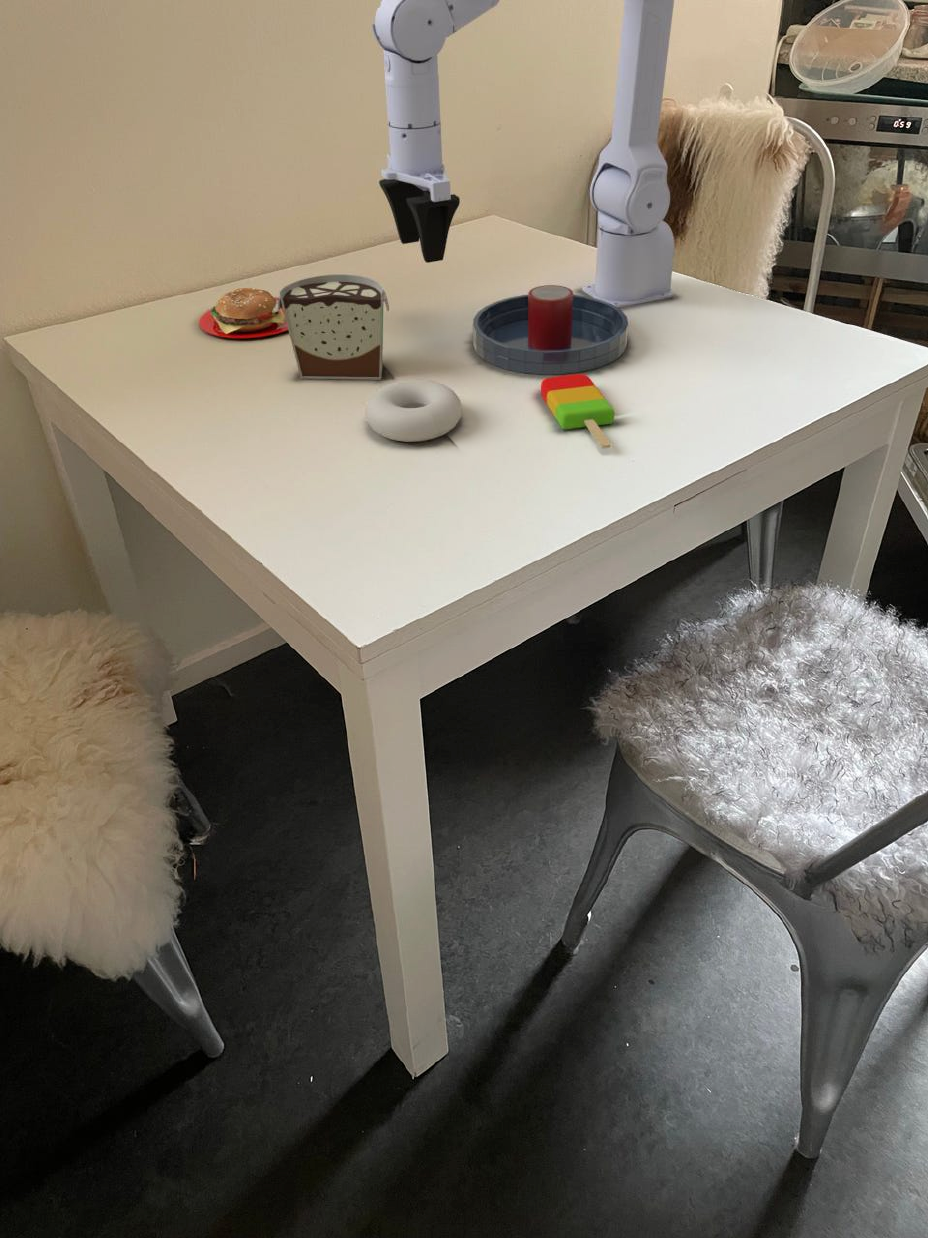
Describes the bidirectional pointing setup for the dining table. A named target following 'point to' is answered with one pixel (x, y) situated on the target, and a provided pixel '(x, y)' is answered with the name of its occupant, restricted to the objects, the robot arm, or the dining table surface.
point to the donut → (413, 410)
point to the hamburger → (245, 315)
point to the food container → (336, 326)
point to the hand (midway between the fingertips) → (421, 251)
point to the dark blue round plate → (591, 347)
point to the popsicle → (578, 404)
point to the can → (550, 317)
